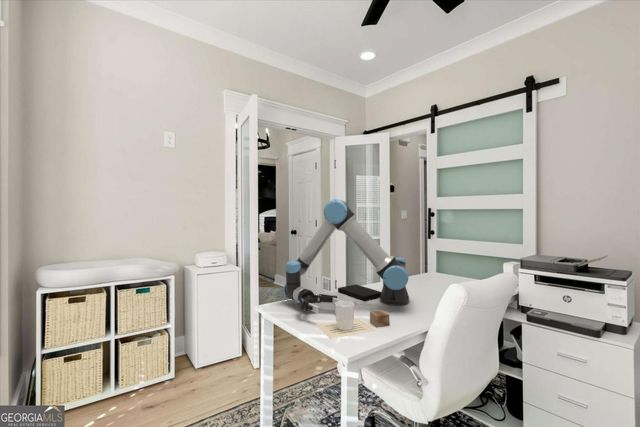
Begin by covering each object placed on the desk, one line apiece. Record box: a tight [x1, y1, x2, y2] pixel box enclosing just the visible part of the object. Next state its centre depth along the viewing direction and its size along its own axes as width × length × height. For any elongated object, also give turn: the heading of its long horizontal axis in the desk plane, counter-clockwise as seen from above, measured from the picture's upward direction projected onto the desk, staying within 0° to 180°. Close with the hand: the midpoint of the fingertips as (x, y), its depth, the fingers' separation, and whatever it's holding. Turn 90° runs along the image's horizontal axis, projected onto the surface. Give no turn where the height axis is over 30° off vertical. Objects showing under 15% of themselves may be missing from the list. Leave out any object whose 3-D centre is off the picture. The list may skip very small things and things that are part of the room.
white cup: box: [334, 300, 355, 330], centre depth 129 cm, size 8×8×10 cm
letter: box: [316, 318, 377, 339], centre depth 129 cm, size 20×15×1 cm
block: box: [369, 309, 391, 328], centre depth 132 cm, size 6×6×5 cm
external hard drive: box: [337, 283, 381, 303], centre depth 178 cm, size 14×23×3 cm, turn 34°
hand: (330, 306), depth 136 cm, fingers open, 13 cm apart
